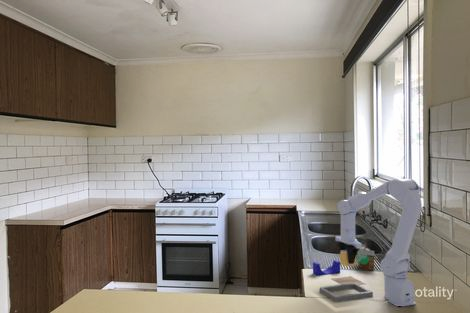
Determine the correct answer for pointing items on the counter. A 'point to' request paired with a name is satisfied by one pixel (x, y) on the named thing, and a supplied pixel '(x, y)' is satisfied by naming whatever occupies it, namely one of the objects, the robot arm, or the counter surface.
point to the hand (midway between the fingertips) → (348, 262)
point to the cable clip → (329, 270)
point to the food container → (366, 258)
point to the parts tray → (363, 293)
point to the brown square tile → (347, 280)
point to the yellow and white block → (345, 258)
